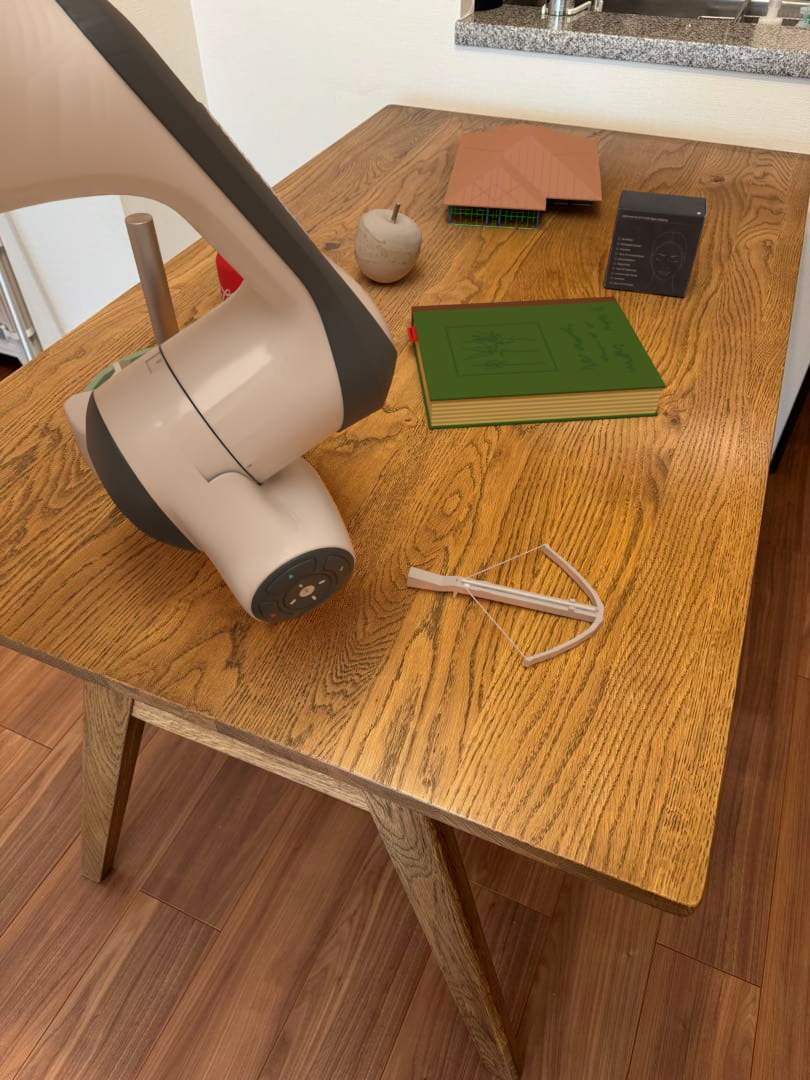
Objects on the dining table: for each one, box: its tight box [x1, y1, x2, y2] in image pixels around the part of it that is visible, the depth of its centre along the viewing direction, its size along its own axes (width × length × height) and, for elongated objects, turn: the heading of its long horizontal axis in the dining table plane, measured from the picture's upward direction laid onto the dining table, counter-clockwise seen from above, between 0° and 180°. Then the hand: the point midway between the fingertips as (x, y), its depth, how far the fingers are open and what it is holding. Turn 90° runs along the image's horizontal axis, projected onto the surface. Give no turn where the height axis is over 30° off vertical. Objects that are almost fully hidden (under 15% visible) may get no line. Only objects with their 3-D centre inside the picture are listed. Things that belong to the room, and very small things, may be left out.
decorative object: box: [353, 201, 423, 284], centre depth 100 cm, size 9×9×10 cm
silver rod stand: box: [124, 212, 180, 346], centre depth 71 cm, size 7×7×22 cm
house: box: [442, 123, 603, 230], centre depth 123 cm, size 23×33×8 cm
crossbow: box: [406, 543, 605, 668], centre depth 64 cm, size 16×13×2 cm
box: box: [602, 189, 708, 298], centre depth 99 cm, size 11×7×10 cm, turn 74°
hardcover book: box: [406, 296, 667, 430], centre depth 87 cm, size 25×19×4 cm
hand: (179, 354), depth 66 cm, fingers open, 8 cm apart
